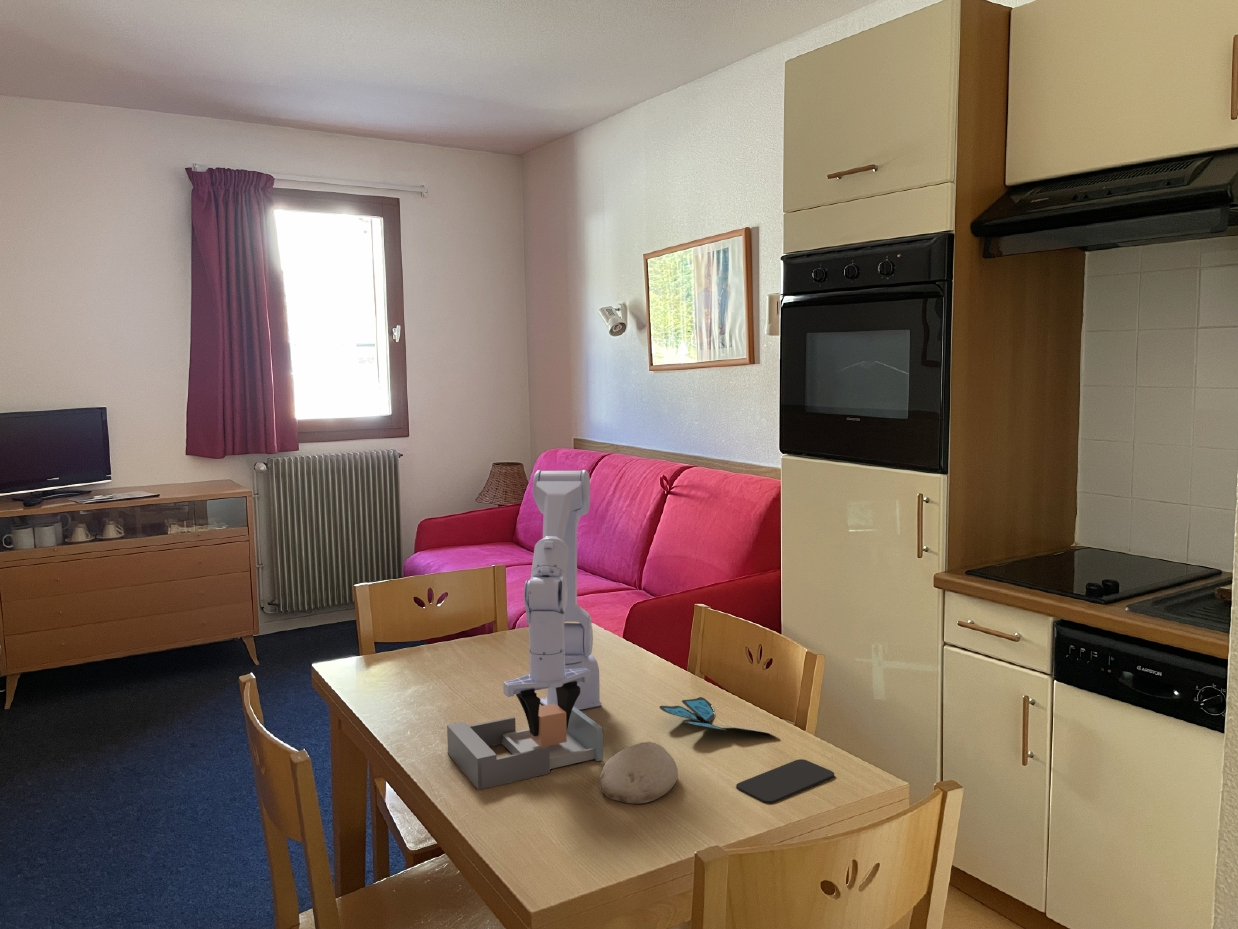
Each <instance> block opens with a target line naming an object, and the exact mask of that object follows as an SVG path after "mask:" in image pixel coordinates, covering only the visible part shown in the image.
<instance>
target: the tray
mask: <svg viewBox="0 0 1238 929" xmlns="http://www.w3.org/2000/svg"><path fill="white" fill-rule="evenodd" d="M603 730H604V729H603V727H602V726H601V725H600V724H598V723H597V722H596V721H594V720H593V719H592V718H591V717H589V716H587V715H586V714H585V713H584V712H582V711H581V710H578V709H577V708H576V707H574V706H573V709H572V712H571V715H570V719H569V723H568V728H567V742H564V743H559V744H555V745H550V746H545V747H548V748H549V754H550V770H551V769H556V768H560V767H564V766H565V767H566V766H568V765H569V766H570V765H574V764H579V763H582V762H587V761H590V760H591V761H592V760H595V761H597V762H600V761H603V760H604V743H603V742H604V741H603V740H604V737H603V734H604V733H603V732H604V731H603ZM501 745H503V747H504V748H506V749H507V750H508V751H509V752H510V753H511V755H513V754H518V753H522V752H527V751H532V750H536V749H541V748H545V747H540V746H539V745H538V744H537V743H536V742H535V741H533V740H532V739H531V738H530V730H529V728H525V729H522V730H517V731H516V732H511V733H506V734H502V744H501Z"/></svg>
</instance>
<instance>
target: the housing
mask: <svg viewBox="0 0 1238 929" xmlns="http://www.w3.org/2000/svg"><path fill="white" fill-rule="evenodd" d="M446 732H447V735H446V738H447V754H448V756H450V758H451V759H452V760H453V761H454V763H455V764H456V765H457V766H458V768H459V769H460V770H461V771H462V772H463V773H464V774H465V776H466V777H467V778H468V779H469V780H470V782H471V783H472V784H473V785H474V786H475V789H477V790H478V791H479V790H484V789H487V788H493V787H497V786H500V785H506V784H508V783H513V782H514V783H515V782H517V781H521V780H522V781H523V780H527V779H531V778H535V777H539V776H543V775H549V774H551V773H550V772H551V769H550V754H549V748H548V747H545V748H541V749H536V750H532V751H527V752H522V753H518V754H509V755H505V756H500V757H497V753H495V751H494V750H493V749H492V748H491V747H492V746H497V745H503V744H502V734H506V733H511V732H516V717H515V716H512V717H511V716H510V717H506V718H500V719H495V720H491V721H486V722H479V723H474V724H470V725H468V723H467V722H466V721H460V722H457V723H456V722H455V723H451V724H450V723H449V724H447V725H446ZM548 773H549V774H548Z"/></svg>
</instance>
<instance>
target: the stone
mask: <svg viewBox="0 0 1238 929" xmlns="http://www.w3.org/2000/svg"><path fill="white" fill-rule="evenodd" d="M678 778H679V772H678V767H677V763H676V761H675V759H674V757H673V756H672V755H671V754H670V753H669V751H667V750H666V748H665V746H662V745H661V744H659V743H656V742H652V741H645V742H639V743H637V744H634V745H631V746H629V747H626V748H623V749H622V750H619V751H618V752H617V753H615V754H614V755H612V756H611V757H610V758H609V759H608V760H607V761H606V762H605V763H604V765H603V767H602V770H601V772H600V775H599V780H598V781H599V782H598V783H599V784H598V785H599V789H600V791H601V792H602V794H603V795H605V796H606V797H607V798H608V799H610V800H614V801H619V802H623V803H624V804H645V803H646V804H647V803H649V802H652V801H656V800H657V799H660V797H663V796H665V795H666V794H667V793H668V792H670V791H671V789H672V788H673V787H674V785H675V784H676V782H677V780H678Z"/></svg>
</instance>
